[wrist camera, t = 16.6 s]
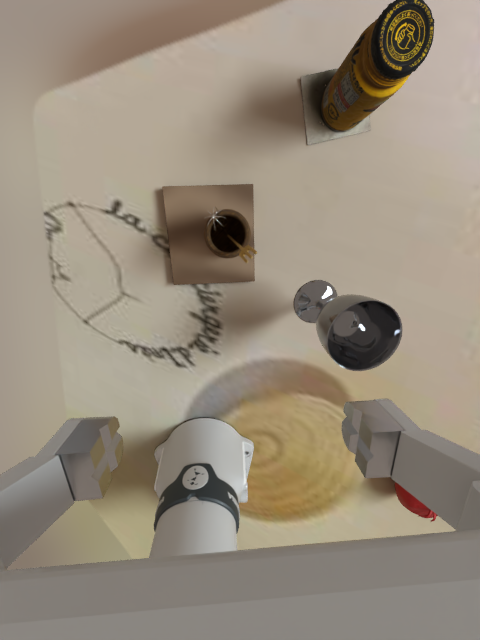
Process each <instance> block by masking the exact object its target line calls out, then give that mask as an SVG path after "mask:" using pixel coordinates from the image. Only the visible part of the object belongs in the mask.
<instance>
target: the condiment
mask: <svg viewBox="0 0 480 640" xmlns="http://www.w3.org/2000/svg"><path fill="white" fill-rule="evenodd" d="M433 33H434V19H433V17H432V13H431V10H430V8H429V7H428V6H427V4H425V2H424V1H423V0H396V1H394V2H393V3H390V4H389V5H388V7H387V8H386V9H385V10H384V11H383V12H382V14H381V15H380V16H379V18H378V19H377V20H376V21H375V22H373V23H372V24H371V25H370V26H369V27H368V28H367V29H366V30H365V31H364V32H363V33H362V34H361V36H360V38H359V39H358V41H357V42H356V44H355V45H354V47H353V48H352V50H351V51H350V52H349V54H348V55H347V57H346V58H345V60H344V61H343V63H342V64H341V66H340V67H339V69H333V70H328V71H325V72H320V73H316V74H311V75H306V76H302V77H301V85H302V86H301V87H302V97H303V108H304V118H305V125H306V135H307V144H308V145H310V144H314V143H319V142H323V141H327V140H332V139H336V138H341V137H345V136H350V135H354V134H358V133H363V132H367V131H370V114H371V113H372V112H373V111H374V110H375V109H377V108H378V107H379V106H380V105H381V104H383V103H384V102H385V101H386V100H388V99H389V97H391V96H392V95H393V94H394V93H395V92H396V91H398V90H399V89H400V88H401V87H402V85H403V84H404V83H405V81H406V80H407V79H408V77H409V76H410V74H411V73H412V72H413V71H415V70H416V69H417V68H418V66H420V64H421V63H422V62H423V61H424V59H425V58H426V56H427V54H428V52H429V50H430V47H431V45H432V41H433ZM325 85H326V86H325ZM319 122H321V124H320V123H319ZM322 124H324V125H322Z"/></svg>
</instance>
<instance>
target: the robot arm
mask: <svg viewBox="0 0 480 640" xmlns="http://www.w3.org/2000/svg"><path fill="white" fill-rule="evenodd" d="M343 412H344V413H345V415H346V416H347V417H346V418H345V419H344V420H343V422H342V435H343V439H344V442H345V444H346V446H347V448H348V450H350V451H351V452H353V453H354V454H356V456H355V462H356V463H357V465H358V467H359V468H360V470H361V472H362V474H363V475H364V477H365V478H381V477H391V479H393V480H394V481H395V482H396V483H398V484H399V485H400V486H401V487H403V488H404V489H405V490H406V491H408V492H409V493H410V494H412V495H413V496H414V497H415V498H417V499H418V500H419V501H420V502H422V503H423V504H424V505H425V506H427V507H428V508H429V509H430V510H432V511H433V512H434V513H436V514H437V515H438V516H439V517H441V518H442V519H443V520H444V521H446V522H447V523H448V524H449V525H451V526H452V527H453V528H454V529H456V531H454V532H443V533H431V534H420V535H408V536H397V537H385V538H374V539H362V540H351V541H339V542H328V543H316V544H305V545H293V546H282V547H271V548H259V549H248V550H237V535H236V534H237V532H238V528H239V519H240V518H239V517H240V511H239V502H247V498H248V490H247V477H248V472H249V468H250V464H251V459H252V455H253V450H254V444H253V442H252V441H250V440H249V439H247V438H244V437H242V436H241V435H239V434H238V433H237V431H236V430H235V429H234V428H232V427H231V426H230V425H228V424H227V423H225V422H222V421H220V420H216V419H211V418H199V419H193V420H190V421H187V422H185V423H183V424H181V425H180V426H178V427H177V428H176V429H175V430H174V431H173V432H172V433H171V435H170V436H169V438H168V439H167V440H166V442H164V443H162V444H161V445H159V446H158V447H157V448H156V449H155V453H154V456H155V459H156V461H157V463H158V465H159V467H158V472H157V476H156V481H155V485H154V490H155V491H156V493H157V496H158V498H159V499H160V500H159V504H158V506H157V509H156V514H155V522H154V531H155V535H154V539H153V543H152V547H151V551H150V556H149V558H144V559H132V560H121V561H109V562H97V563H86V564H75V565H62V566H51V567H39V568H28V569H16V570H7V567H8V566H10V565H11V564H12V562H14V561H15V560H16V559H17V558H18V557H19V556H20V555H21V554H22V553H23V552H24V551H25V550H26V549H27V548H28V547H29V546H30V545H31V544H32V543H33V542H34V541H35V540H36V539H37V538H38V537H40V535H42V534H43V533H44V532H45V531H46V530H47V529H48V528H49V527H50V526H51V525H52V524H53V523H54V522H55V521H56V520H57V519H58V518H59V517H60V516H61V515H62V514H63V513H64V512H65V511H66V510H67V509H68V508H70V507H71V506H72V505H73V504H74V501H81V500H91V499H100V498H103V497H104V495H105V492H106V490H107V488H108V486H109V484H110V482H111V480H112V475H111V472H112V471H113V470H114V469H115V468H116V467H118V465H119V463H120V460H121V458H122V453H123V439H122V436H121V435H120V434H119V433H117V430H118V428H119V422H118V418H116V417H90V418H72V419H69V420H67V421H66V422H65V423H64V424H63V426H62V427H61V428H60V429H59V430H58V431H57V432H56V434H55V435H54V436H53V437H52V438H51V439H50V440H49V442H48V443H47V444H46V445H45V446H44V447H43V448H42V450H41V451H40V452H39V453H38V454H37V455H36V456H35V457H29V458H28V459H26V460H24V461H23V462H21V463H19V464H18V465H16V466H14V467H12V468H11V469H9V470H8V471H6V472H4V473H2V474H1V475H0V640H480V455H479V454H477V453H475V452H473V451H470V450H468V449H466V448H464V447H462V446H460V445H458V444H455V443H453V442H451V441H449V440H447V439H445V438H443V437H440V436H438V435H436V434H434V433H432V432H430V431H427V430H421V429H420V428H419V427H418V426H417V425H416V424H415V423H414V422H413V421H412V420H411V419H410V418H409V417H408V416H407V415H406V414H404V413H403V412H402V411H401V410H400V409H399V408H398V407H397V406H396V405H395V404H394V403H393V402H392V401H391V400H389V399H377V400H370V401H355V402H346V403H345V405H344V411H343ZM246 451H248V452H246Z"/></svg>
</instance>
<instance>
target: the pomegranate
mask: <svg viewBox="0 0 480 640" xmlns="http://www.w3.org/2000/svg"><path fill="white" fill-rule="evenodd" d="M395 490H396V494H397V497H398V499H399V501H400V502H401V504H402V505H403V506H404V507H406V508H407V509H408V510H410V511H411V512H413V513H415V514H418V515H419V516H421V517H424V518H432V517H433V520H431V521H434V520H435V519H436V516H438V515H437V514H436V513H434V512H433V511H432V510H430V509H429V508H428V507H427V506H425V505H424V504H423V503H422V502H420V501H419V500H418V499H417V498H415V497H414V496H413V495H412V494H410V493H409V492H408V491H406V490H405V489H404V488H403V487H401V486H400V485H399V484H398V483H396V482H395Z"/></svg>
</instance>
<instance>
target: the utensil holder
mask: <svg viewBox="0 0 480 640" xmlns="http://www.w3.org/2000/svg"><path fill="white" fill-rule="evenodd" d="M214 208H216V207H214ZM216 209H217V208H216ZM207 211H208V210H207ZM208 212H209V211H208ZM209 213H210V212H209ZM210 214H211V213H210ZM205 218H207V217H205ZM205 218H204V219H205ZM205 221H206V220H205ZM250 238H251V230H250V226H249V223H248V221H247V220H246V218H245V217H244V216H243V215H242V214H241V213H239V212H237V211H235V210H232V209H222V210H219V211H218V210H217V212H215V213H214V210H213V214H211V216H209V219H208V220H207V222H206V224H205V228H204V239H205V242H206V245H207V247H208V248H209V249H210V251H211V252H212V253H214V254H215V255H217V256H218V257H221V258H234V257H237V256H240V257H241V258H242V259H243V260H244V262H245V263H248V260H247V259H246V258H245V257H244V256H245V255H247V256H248V257H249V258H250V259H252V258H253V256H252V255H251V254H249V253H248V251H249V250H250V251H252V252H253V253H254V254H257V251H255V250H254V249H253V248H252V247H251V246H249V242H250Z"/></svg>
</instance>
